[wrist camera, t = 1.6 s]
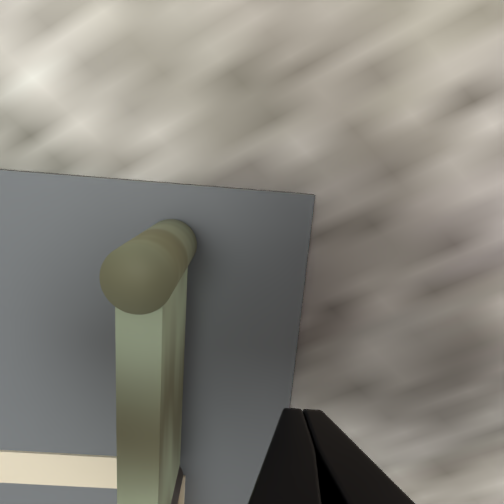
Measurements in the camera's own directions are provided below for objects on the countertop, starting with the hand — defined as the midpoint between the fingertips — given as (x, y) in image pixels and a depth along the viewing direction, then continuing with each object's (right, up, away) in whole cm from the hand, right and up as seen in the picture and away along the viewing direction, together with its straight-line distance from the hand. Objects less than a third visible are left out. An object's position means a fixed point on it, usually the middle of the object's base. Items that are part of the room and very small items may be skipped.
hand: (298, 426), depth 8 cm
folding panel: (-4, 0, +6) cm, 7 cm away
